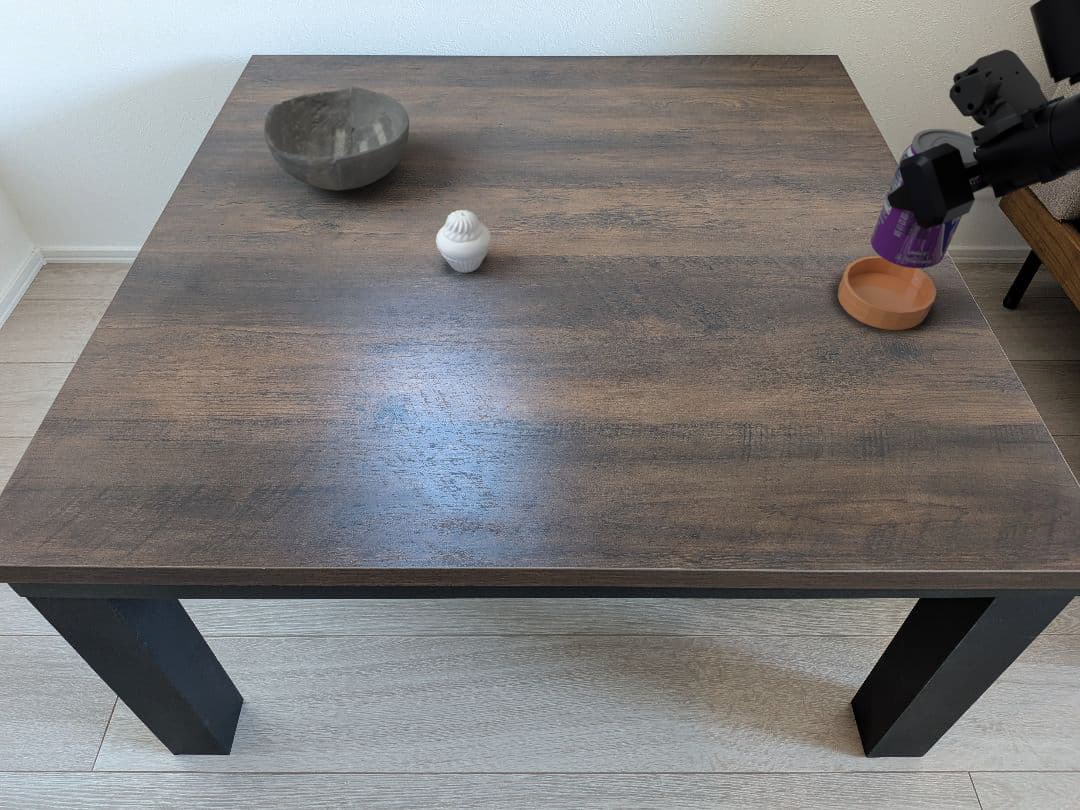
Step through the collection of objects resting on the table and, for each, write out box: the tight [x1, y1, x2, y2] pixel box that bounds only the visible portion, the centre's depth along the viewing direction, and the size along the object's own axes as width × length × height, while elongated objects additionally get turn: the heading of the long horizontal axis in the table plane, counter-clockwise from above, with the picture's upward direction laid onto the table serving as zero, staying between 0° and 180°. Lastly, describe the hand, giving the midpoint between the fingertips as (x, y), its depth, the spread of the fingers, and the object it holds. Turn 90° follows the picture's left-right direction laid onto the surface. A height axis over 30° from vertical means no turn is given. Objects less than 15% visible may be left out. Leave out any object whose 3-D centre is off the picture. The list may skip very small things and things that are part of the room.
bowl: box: [263, 86, 410, 191], centre depth 99 cm, size 18×18×8 cm
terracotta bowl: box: [837, 255, 937, 331], centre depth 85 cm, size 9×9×2 cm
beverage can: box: [870, 128, 980, 269], centre depth 76 cm, size 7×7×12 cm
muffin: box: [435, 209, 492, 274], centre depth 87 cm, size 6×6×7 cm
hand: (915, 190), depth 76 cm, fingers closed on beverage can, 7 cm apart
